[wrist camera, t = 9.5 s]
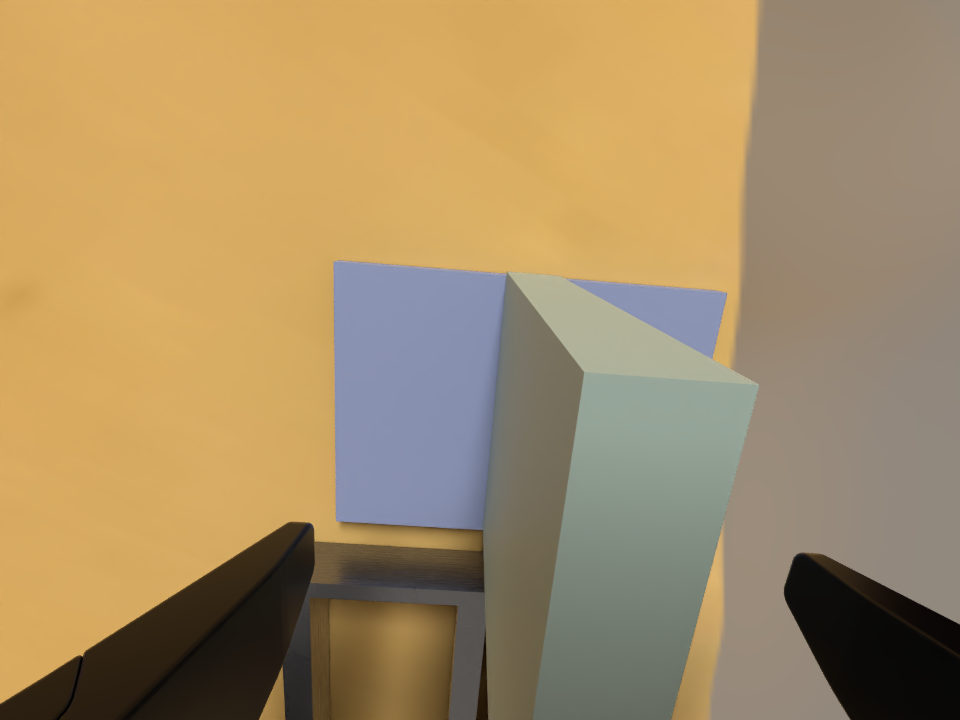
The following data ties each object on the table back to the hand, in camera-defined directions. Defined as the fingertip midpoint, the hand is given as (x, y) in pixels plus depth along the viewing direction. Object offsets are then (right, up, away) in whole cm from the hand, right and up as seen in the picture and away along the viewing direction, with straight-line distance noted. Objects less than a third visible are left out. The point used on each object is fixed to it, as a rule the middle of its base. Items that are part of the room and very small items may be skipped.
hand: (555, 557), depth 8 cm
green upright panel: (0, +2, +6) cm, 7 cm away
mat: (0, +2, +7) cm, 7 cm away
